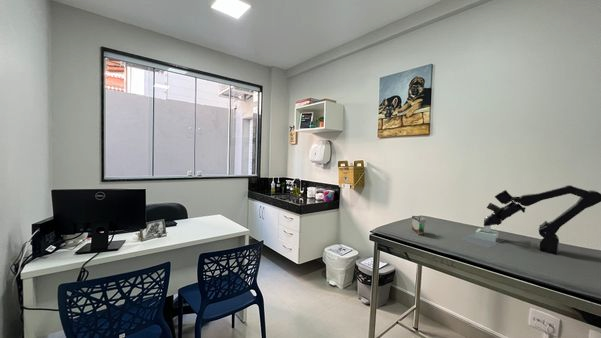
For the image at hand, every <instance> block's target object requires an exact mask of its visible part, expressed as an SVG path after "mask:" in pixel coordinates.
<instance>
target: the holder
mask: <svg viewBox="0 0 601 338" xmlns="http://www.w3.org/2000/svg"><path fill="white" fill-rule="evenodd" d="M474 233H475V238H478V239H483V240H488V241H492V242H496V240H497V239H498V238H499V231H495V230H491V229H490V234H489V233H484V228H477V229H476V230H475V232H474Z"/></svg>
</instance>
